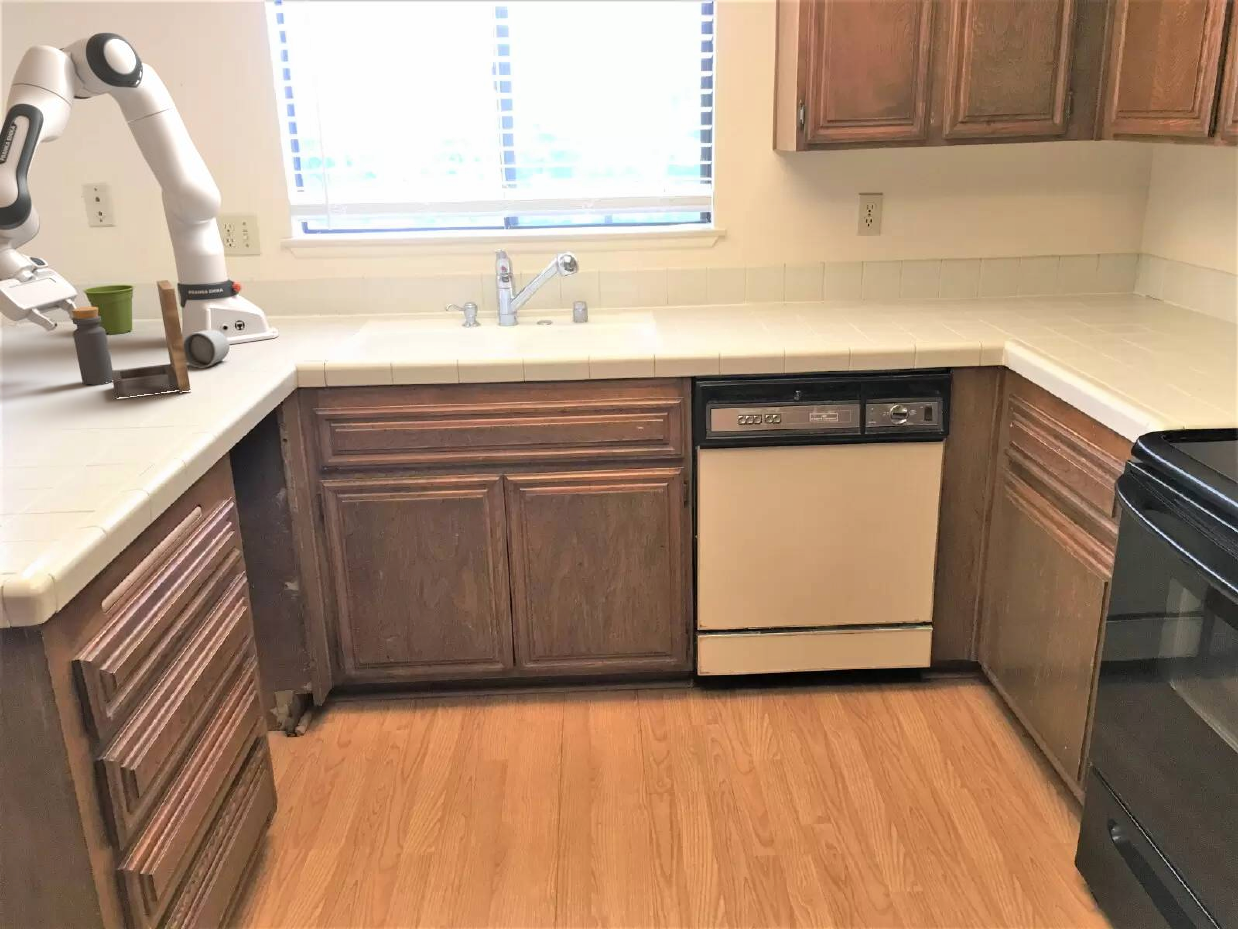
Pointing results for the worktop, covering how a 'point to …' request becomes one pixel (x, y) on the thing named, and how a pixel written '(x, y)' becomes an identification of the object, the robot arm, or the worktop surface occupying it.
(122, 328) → the plant pot
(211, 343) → the ceramic mug
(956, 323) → the worktop surface
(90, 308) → the bottle
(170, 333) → the wooden stand
